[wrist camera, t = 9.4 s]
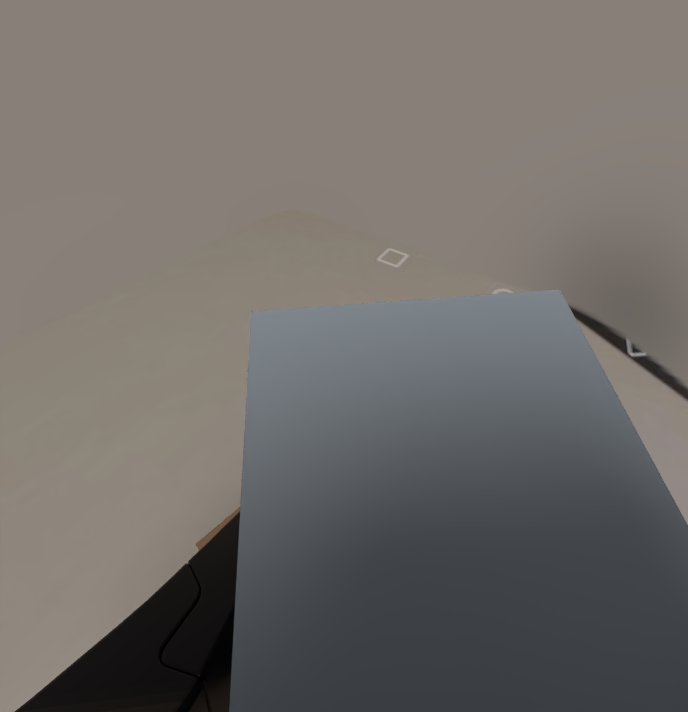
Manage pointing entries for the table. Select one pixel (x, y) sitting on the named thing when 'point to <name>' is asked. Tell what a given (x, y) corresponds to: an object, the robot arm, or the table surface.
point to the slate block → (450, 518)
